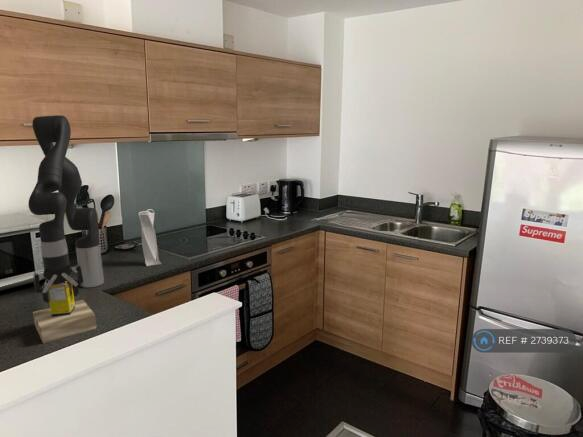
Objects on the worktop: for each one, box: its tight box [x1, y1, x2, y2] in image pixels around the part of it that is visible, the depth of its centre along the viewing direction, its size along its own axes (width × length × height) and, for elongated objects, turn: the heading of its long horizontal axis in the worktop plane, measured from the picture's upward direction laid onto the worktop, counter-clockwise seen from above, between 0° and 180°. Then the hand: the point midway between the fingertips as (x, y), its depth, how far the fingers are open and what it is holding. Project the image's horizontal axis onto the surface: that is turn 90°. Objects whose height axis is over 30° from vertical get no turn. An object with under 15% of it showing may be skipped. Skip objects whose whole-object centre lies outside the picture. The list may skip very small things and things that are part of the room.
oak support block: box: [32, 299, 98, 344], centre depth 148 cm, size 16×16×5 cm
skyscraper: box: [138, 208, 162, 267], centre depth 210 cm, size 8×8×28 cm
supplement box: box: [47, 280, 76, 316], centre depth 147 cm, size 6×6×11 cm
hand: (61, 299), depth 146 cm, fingers open, 8 cm apart
